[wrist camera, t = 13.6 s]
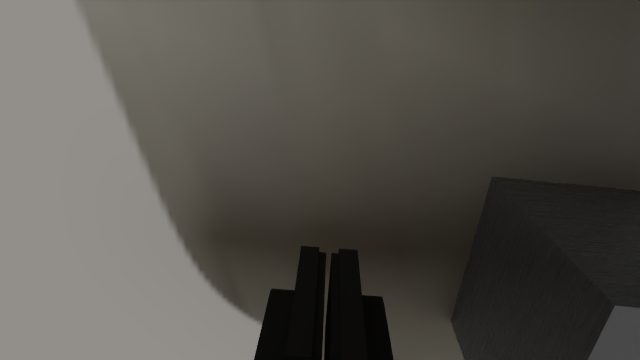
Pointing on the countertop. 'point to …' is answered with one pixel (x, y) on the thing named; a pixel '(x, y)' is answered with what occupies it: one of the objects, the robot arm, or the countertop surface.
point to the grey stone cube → (552, 274)
